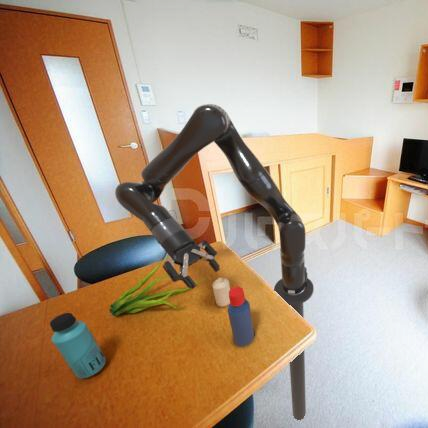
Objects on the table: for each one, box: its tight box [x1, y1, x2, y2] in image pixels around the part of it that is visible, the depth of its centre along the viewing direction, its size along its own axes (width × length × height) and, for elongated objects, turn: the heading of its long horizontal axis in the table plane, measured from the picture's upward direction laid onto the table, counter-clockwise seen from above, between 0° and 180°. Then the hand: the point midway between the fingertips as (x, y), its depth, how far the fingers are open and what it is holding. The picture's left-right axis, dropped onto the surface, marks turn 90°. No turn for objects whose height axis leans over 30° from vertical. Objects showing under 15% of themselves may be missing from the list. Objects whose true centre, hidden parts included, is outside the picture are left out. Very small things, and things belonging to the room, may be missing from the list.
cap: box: [229, 286, 246, 307], centre depth 68 cm, size 4×4×4 cm
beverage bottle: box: [49, 312, 107, 379], centre depth 61 cm, size 6×7×20 cm
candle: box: [211, 277, 231, 308], centre depth 87 cm, size 6×6×10 cm
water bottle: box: [227, 298, 255, 347], centre depth 71 cm, size 6×6×18 cm
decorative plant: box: [108, 256, 210, 317], centre depth 86 cm, size 18×30×15 cm, turn 94°
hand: (206, 278), depth 72 cm, fingers open, 8 cm apart
